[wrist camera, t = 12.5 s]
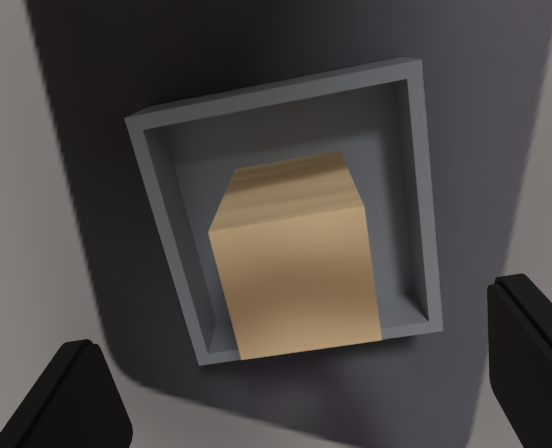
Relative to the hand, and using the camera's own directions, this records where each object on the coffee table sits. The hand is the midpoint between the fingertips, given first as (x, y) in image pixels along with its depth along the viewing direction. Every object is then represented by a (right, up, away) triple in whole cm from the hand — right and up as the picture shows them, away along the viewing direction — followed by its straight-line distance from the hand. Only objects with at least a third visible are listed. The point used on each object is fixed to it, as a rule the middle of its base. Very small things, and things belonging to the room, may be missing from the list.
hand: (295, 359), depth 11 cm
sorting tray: (0, +4, +13) cm, 13 cm away
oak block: (+1, +4, +12) cm, 13 cm away
